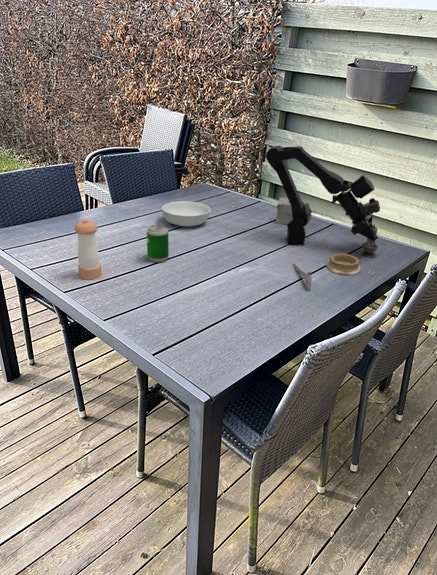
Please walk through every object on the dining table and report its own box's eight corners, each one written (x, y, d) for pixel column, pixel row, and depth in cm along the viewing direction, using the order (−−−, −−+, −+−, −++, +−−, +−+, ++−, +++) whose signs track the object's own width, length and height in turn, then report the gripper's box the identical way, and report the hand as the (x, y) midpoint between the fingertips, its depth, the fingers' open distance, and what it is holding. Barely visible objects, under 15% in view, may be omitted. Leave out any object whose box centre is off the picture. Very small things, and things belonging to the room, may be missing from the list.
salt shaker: (358, 251, 185) (364, 221, 179) (372, 251, 185) (379, 221, 180) (363, 257, 179) (369, 227, 174) (378, 257, 180) (385, 227, 174)
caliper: (310, 291, 154) (312, 274, 151) (306, 291, 154) (309, 274, 151) (295, 265, 172) (297, 249, 169) (292, 265, 172) (294, 249, 169)
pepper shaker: (81, 281, 153) (76, 224, 145) (76, 272, 159) (70, 217, 150) (104, 277, 157) (99, 222, 148) (98, 268, 162) (93, 215, 154)
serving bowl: (209, 232, 198) (210, 216, 195) (159, 230, 198) (158, 214, 194) (210, 216, 216) (211, 201, 213) (164, 214, 216) (164, 199, 213)
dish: (331, 275, 165) (333, 266, 163) (322, 261, 175) (323, 252, 174) (365, 275, 166) (367, 266, 164) (353, 261, 176) (355, 252, 175)
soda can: (172, 257, 173) (172, 226, 168) (161, 265, 167) (161, 232, 162) (154, 253, 176) (153, 222, 170) (143, 260, 170) (142, 228, 164)
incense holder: (274, 224, 209) (277, 201, 205) (277, 218, 217) (279, 196, 212) (297, 227, 207) (300, 204, 203) (299, 221, 215) (302, 198, 210)
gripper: (366, 199, 165) (393, 235, 167) (372, 186, 181) (396, 219, 182) (340, 217, 171) (365, 251, 173) (347, 203, 187) (371, 235, 188)
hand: (375, 238), depth 179 cm, fingers closed on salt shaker, 4 cm apart
